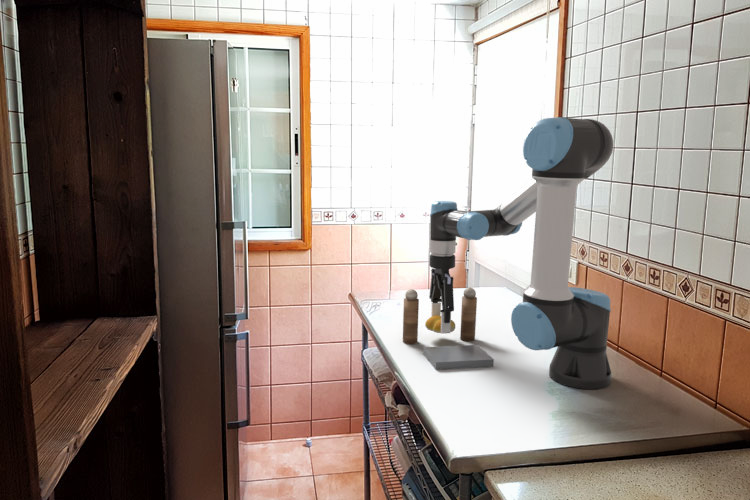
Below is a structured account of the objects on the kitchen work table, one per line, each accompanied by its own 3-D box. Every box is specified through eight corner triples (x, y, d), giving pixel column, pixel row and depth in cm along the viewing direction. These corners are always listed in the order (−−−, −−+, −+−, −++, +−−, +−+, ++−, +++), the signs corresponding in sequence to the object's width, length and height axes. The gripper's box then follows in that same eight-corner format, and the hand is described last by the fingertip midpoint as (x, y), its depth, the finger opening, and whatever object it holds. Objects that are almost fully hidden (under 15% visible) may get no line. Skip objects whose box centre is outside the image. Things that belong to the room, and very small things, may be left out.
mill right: (476, 341, 186) (479, 289, 183) (463, 341, 185) (465, 289, 182) (471, 336, 190) (474, 285, 188) (458, 337, 190) (460, 286, 187)
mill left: (419, 343, 183) (420, 291, 180) (404, 344, 182) (406, 291, 179) (415, 339, 187) (416, 287, 184) (401, 339, 186) (402, 287, 183)
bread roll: (442, 335, 179) (443, 322, 178) (420, 328, 186) (421, 315, 185) (461, 330, 184) (462, 317, 184) (439, 324, 191) (440, 311, 190)
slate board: (493, 366, 166) (493, 359, 165) (435, 369, 162) (435, 362, 162) (477, 351, 177) (477, 344, 177) (423, 354, 174) (423, 347, 174)
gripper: (467, 260, 172) (464, 338, 175) (443, 247, 193) (441, 317, 196) (441, 261, 170) (439, 339, 174) (420, 248, 191) (418, 319, 195)
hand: (440, 328), depth 185 cm, fingers closed on bread roll, 9 cm apart
